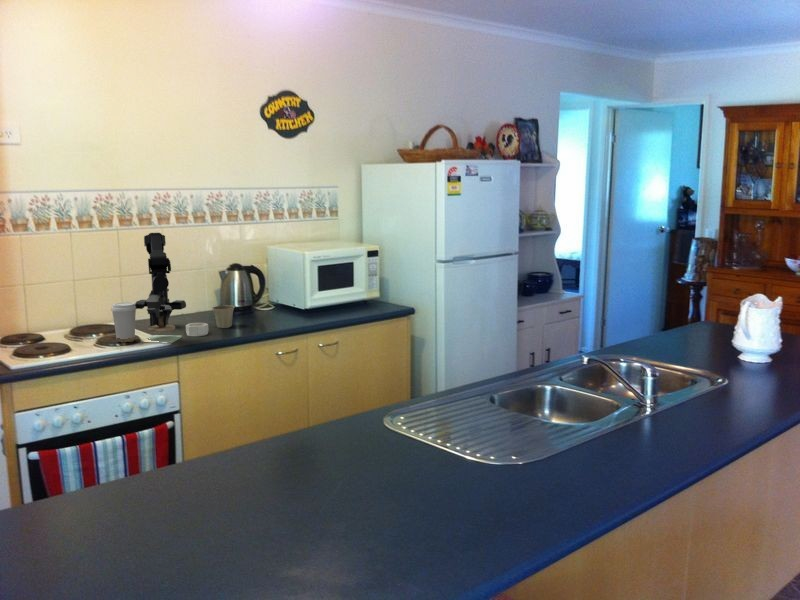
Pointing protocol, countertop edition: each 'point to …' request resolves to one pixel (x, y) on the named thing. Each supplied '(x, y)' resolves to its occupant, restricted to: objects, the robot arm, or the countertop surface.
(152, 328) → the lid
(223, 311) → the flower pot
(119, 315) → the coffee cup
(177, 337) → the mat
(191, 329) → the bowl
